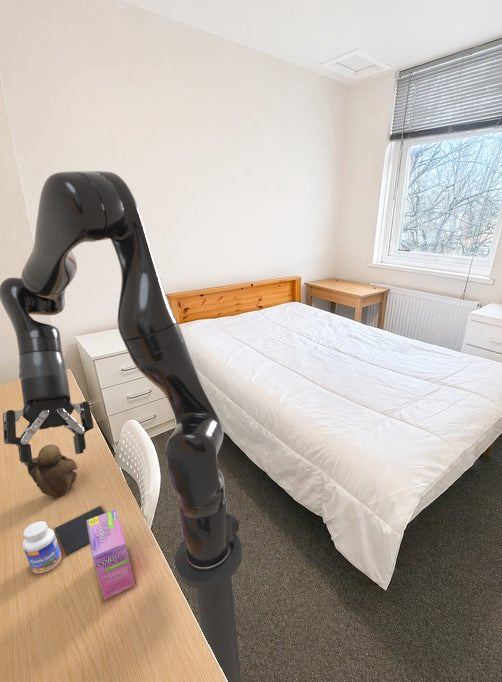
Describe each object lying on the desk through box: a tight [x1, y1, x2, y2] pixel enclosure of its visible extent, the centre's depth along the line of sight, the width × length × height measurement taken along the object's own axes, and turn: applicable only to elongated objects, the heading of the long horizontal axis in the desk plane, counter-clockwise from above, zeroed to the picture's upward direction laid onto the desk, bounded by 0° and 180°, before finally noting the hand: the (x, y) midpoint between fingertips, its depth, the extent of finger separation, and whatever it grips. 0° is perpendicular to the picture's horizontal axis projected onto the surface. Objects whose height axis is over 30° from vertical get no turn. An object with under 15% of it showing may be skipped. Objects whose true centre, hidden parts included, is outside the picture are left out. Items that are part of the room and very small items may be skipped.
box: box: [87, 509, 135, 601], centre depth 71 cm, size 10×6×12 cm, turn 34°
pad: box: [54, 506, 106, 556], centre depth 83 cm, size 10×10×1 cm
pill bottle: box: [22, 520, 62, 574], centre depth 73 cm, size 5×5×10 cm
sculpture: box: [26, 443, 78, 498], centre depth 91 cm, size 11×11×15 cm
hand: (55, 458), depth 68 cm, fingers open, 8 cm apart
